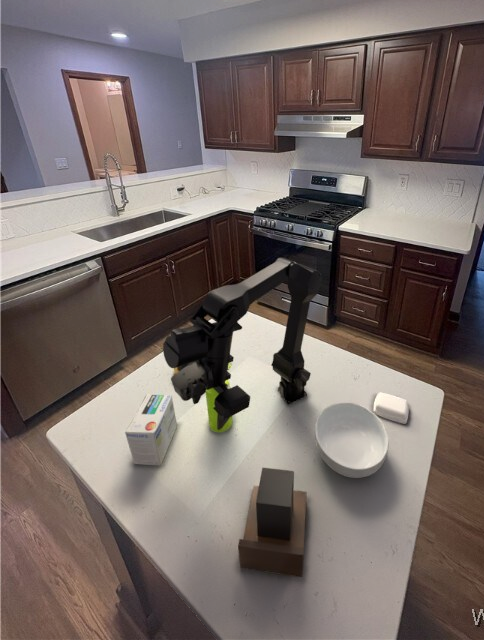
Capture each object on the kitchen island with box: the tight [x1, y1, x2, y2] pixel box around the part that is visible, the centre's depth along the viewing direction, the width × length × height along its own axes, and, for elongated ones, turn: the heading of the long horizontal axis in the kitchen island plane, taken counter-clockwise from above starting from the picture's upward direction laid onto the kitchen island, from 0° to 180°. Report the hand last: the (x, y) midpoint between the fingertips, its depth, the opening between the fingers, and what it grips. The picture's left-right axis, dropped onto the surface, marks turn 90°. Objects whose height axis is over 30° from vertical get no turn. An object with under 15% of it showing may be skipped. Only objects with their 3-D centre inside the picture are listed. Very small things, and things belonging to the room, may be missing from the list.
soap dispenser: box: [205, 362, 233, 433], centre depth 78 cm, size 6×7×20 cm
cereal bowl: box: [314, 401, 390, 479], centre depth 73 cm, size 17×17×7 cm
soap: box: [372, 391, 410, 425], centre depth 85 cm, size 9×7×3 cm
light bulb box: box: [124, 394, 178, 466], centre depth 74 cm, size 11×7×11 cm, turn 178°
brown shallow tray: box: [237, 485, 307, 578], centre depth 59 cm, size 12×11×7 cm
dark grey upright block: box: [256, 467, 295, 541], centre depth 57 cm, size 6×6×10 cm
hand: (207, 415), depth 67 cm, fingers open, 9 cm apart
